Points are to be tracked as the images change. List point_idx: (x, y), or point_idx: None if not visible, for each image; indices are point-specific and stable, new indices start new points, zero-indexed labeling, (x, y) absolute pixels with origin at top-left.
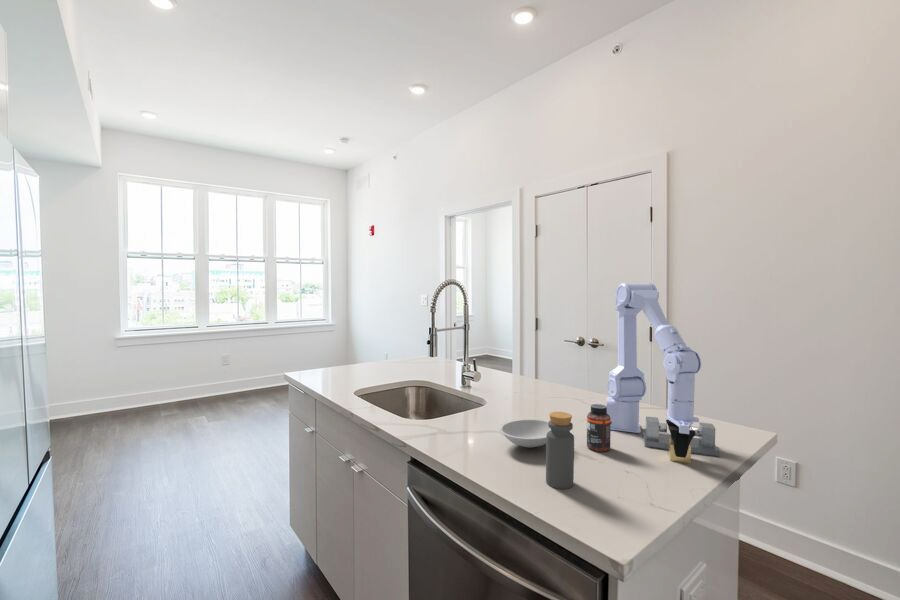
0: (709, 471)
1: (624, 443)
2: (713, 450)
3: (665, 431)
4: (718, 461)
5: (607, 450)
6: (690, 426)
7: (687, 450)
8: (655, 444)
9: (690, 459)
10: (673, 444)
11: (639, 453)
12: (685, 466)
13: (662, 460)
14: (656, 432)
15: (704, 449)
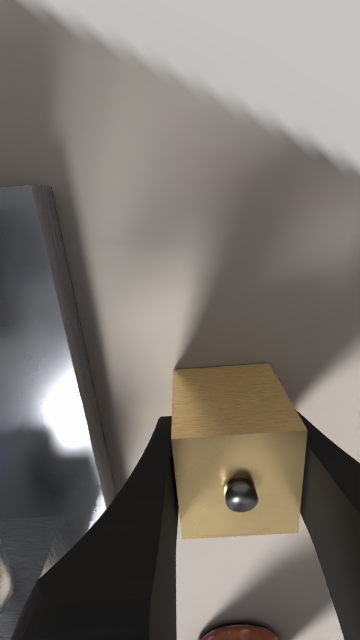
0: (356, 276)
1: None
2: (43, 226)
3: (2, 546)
4: (152, 201)
5: (266, 630)
6: (151, 581)
7: (325, 436)
8: None
9: (275, 376)
10: (291, 520)
11: (227, 544)
12: (320, 386)
13: None
14: None
15: (56, 288)
